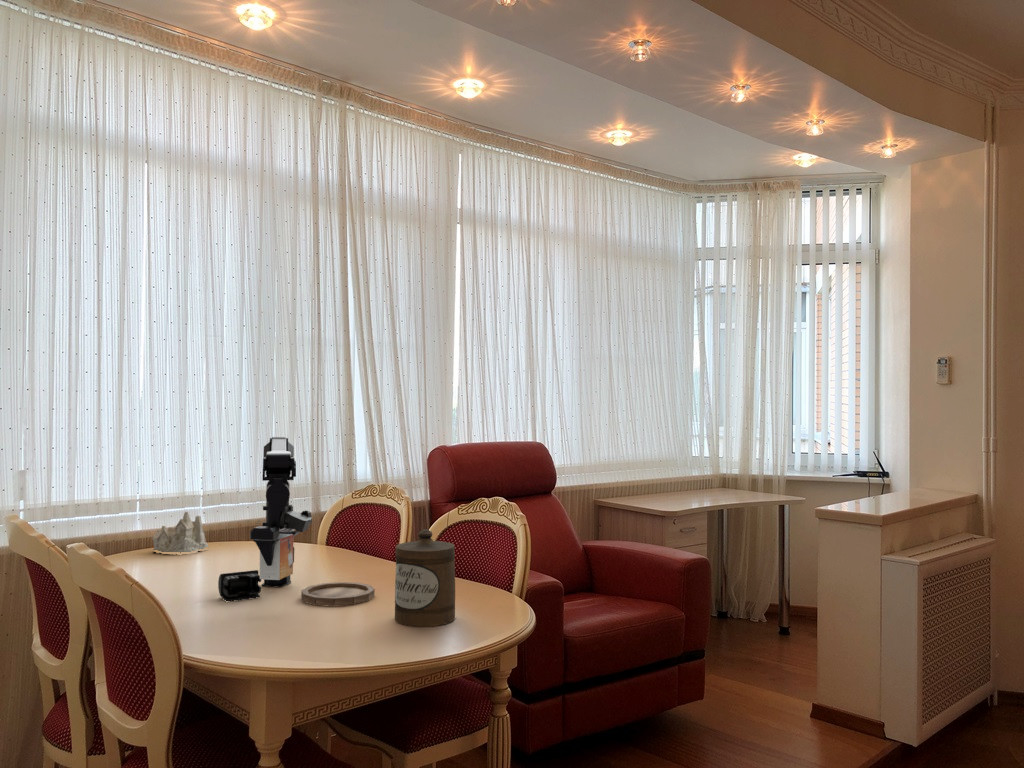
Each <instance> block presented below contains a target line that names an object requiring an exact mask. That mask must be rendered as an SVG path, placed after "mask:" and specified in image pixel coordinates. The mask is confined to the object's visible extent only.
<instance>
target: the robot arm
mask: <svg viewBox="0 0 1024 768" xmlns="http://www.w3.org/2000/svg"><path fill="white" fill-rule="evenodd" d="M294 454H295V447H294V445H293V444H292V443H290V442H289V437H287V436H272V437H269V442H268V443H266V444H265V445H264V446H263V458H262V481H264V482H265V481H267V483H266V491H265V501H266V502H265V505H264V506H262V510H263V511H265V521H263V522H262V525H258V526H256V527H253V528H252V529H251V530H250V531H249V539H250V540H252V542H255V545H256V546H257V547H258V550H259V553H260V552H261V554H262V556H263V558H264V560H265V562H266V564H267V566H271V565H272V561H273V554H274V547H275V544H276V543H277V542H278V541H279V540H280V539H277V538H278V536H279V534H293V535H294V536H293V538H294V537H296V536H297V535H298V534H299V533H303V532H305V531H308V529H309V526H310V524H312V523H313V517H312V512H311V511H309V510H307V509H305V510H302V512H299V511H298V512H297V511H294V506H293V504H290V497H291V493H290V486H291V485H290V483H289V482H290V481H294V479H295V478H296V477H297V462H296V460H295V455H294ZM294 563H295V547H294V546H293V564H294ZM290 582H291V583H292V580H291V575H289V576H287V577H284V578H282V579H280V580H266V579H263V583H261V587H274V586H278V587H279V588H282V586H283V587H285V586H286V584H287V585H289V584H291V583H290ZM288 583H289V584H288Z"/></svg>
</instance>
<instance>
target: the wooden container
mask: <svg viewBox="0 0 1024 768" xmlns="http://www.w3.org/2000/svg"><path fill="white" fill-rule="evenodd" d="M417 535H418V537H419V539H417V540H416V541H407V542H402V543H398V544H396V545H395V578H394V579H395V583H394V620H395V622H397V623H398V624H400V625H404V626H407V627H416V628H419V627H420V628H422V627H423V628H424V627H425V628H426V627H437V626H442V625H447V624H450V623H452V622H453V621H455V618H456V568H455V566H456V565H455V558H456V556H455V555H456V554H455V553H456V552H455V551H456V549H455V548H456V547H455V544H454V543H452V542H449V541H448V542H446V541H442V540H441V541H440V540H433V532H432V531H431V530H430V529H425V528H423V529H422V530H421V531H419V532H418V534H417Z"/></svg>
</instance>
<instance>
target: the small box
mask: <svg viewBox="0 0 1024 768" xmlns="http://www.w3.org/2000/svg"><path fill="white" fill-rule="evenodd" d="M293 536H294V535H293V534H279V536H278V538H277V539H280V540H279V541H278V542H277V543H276V544H275V547H274V554H273V561H272V565H271V566H267V564H266V562H265V560H264V558H263V556H262V554H261V552H260V551H259V576H260V579H262V580H264V579H266V580H280V579H282V578H284V577H287V576H289V575H290V576H292V575H293V574H294V563H293V547H294V537H295V536H294V537H293Z"/></svg>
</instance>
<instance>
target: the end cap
mask: <svg viewBox="0 0 1024 768" xmlns="http://www.w3.org/2000/svg"><path fill="white" fill-rule="evenodd" d="M262 580H263V579H260V574H259V570H257V569H254V570H246V571H235V572H225V573H220V574H219V577H218V581H217V582H218V583H217V585H218V588H217V589H218V592H219V595H220V597H221V598H222V600H223V599H224V601H225V600H226V601H230V602H235V601H234V600H238V601H243V600H242V599H246V600H250V599H249V598H254V599H257V598H256V597H260V598H261V595H260V593H261V592H262V586H260V585H259V583H261V582H262ZM226 601H225V602H226Z"/></svg>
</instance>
